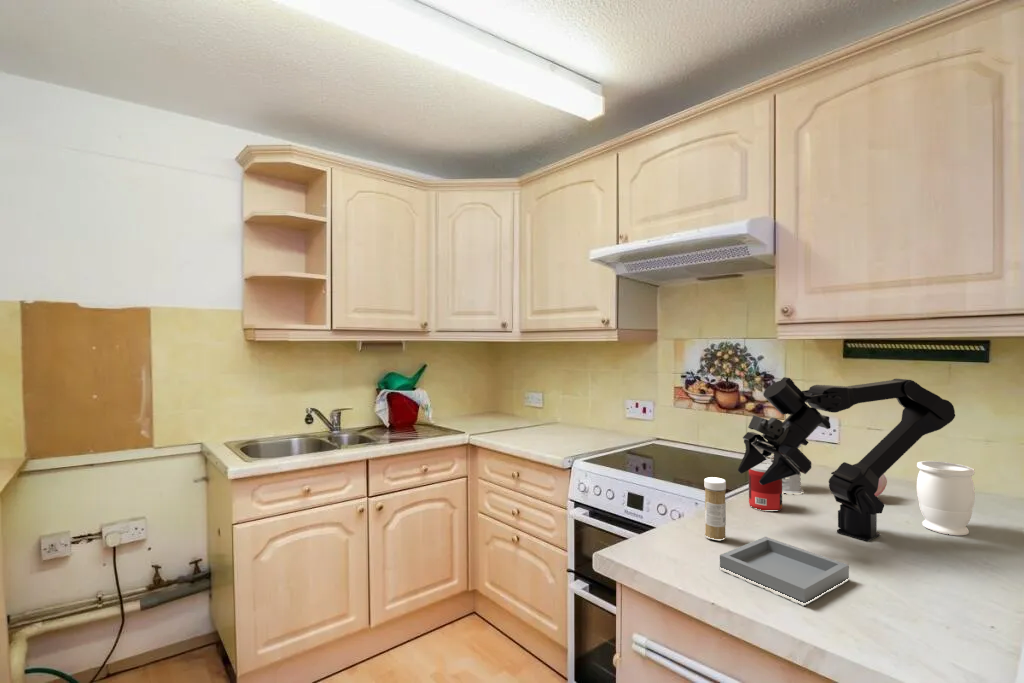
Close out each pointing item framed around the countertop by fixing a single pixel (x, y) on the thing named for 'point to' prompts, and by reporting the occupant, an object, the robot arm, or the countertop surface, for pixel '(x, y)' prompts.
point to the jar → (945, 496)
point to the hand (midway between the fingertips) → (749, 477)
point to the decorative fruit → (881, 485)
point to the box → (785, 568)
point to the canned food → (764, 490)
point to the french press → (790, 481)
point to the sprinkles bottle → (715, 507)
